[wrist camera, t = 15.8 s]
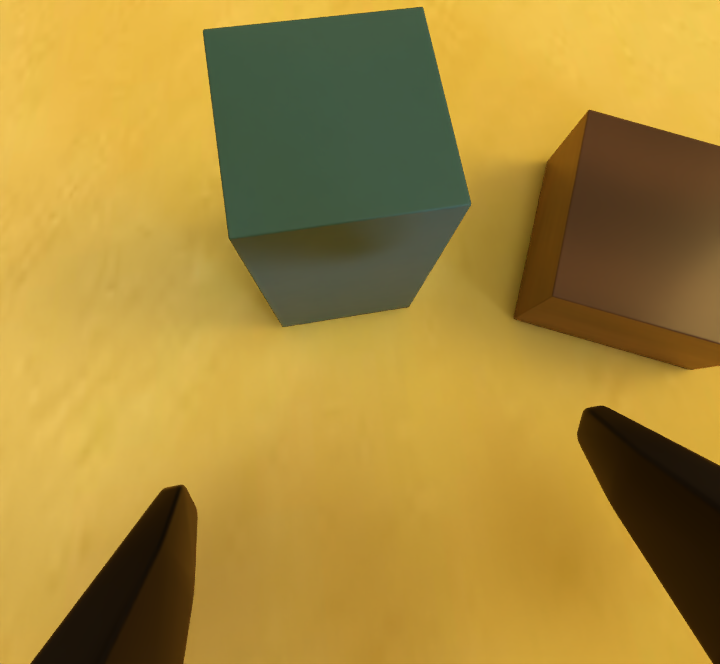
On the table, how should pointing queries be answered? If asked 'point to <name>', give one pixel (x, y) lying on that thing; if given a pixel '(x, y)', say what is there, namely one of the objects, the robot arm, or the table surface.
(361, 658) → the table surface
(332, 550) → the table surface
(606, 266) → the walnut block
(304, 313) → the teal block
